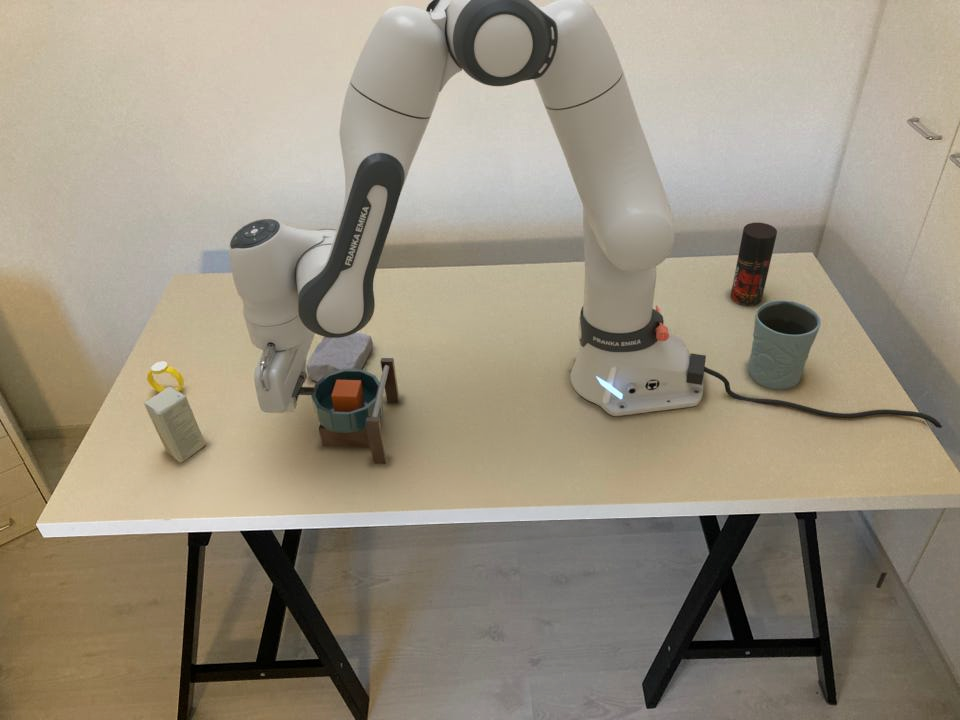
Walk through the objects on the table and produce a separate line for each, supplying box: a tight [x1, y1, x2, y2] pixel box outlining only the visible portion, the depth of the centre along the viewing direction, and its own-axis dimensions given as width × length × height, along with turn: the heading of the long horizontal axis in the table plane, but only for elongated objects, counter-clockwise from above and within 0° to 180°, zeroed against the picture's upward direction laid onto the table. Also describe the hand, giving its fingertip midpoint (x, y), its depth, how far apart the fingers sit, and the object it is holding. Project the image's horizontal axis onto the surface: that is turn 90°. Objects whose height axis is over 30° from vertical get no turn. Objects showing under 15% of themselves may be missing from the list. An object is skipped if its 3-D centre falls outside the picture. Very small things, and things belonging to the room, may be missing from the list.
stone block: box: [306, 332, 374, 383], centre depth 139 cm, size 12×5×10 cm
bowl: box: [291, 365, 389, 433], centre depth 123 cm, size 15×12×4 cm
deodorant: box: [730, 222, 778, 307], centre depth 146 cm, size 6×6×15 cm
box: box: [143, 385, 207, 463], centre depth 121 cm, size 5×4×11 cm
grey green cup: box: [747, 300, 822, 391], centre depth 129 cm, size 10×10×12 cm
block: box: [331, 380, 364, 412], centre depth 122 cm, size 4×4×4 cm
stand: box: [318, 357, 400, 464], centre depth 124 cm, size 11×15×9 cm
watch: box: [146, 360, 185, 393], centre depth 134 cm, size 6×3×6 cm, turn 83°
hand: (296, 394), depth 123 cm, fingers closed on bowl, 5 cm apart
